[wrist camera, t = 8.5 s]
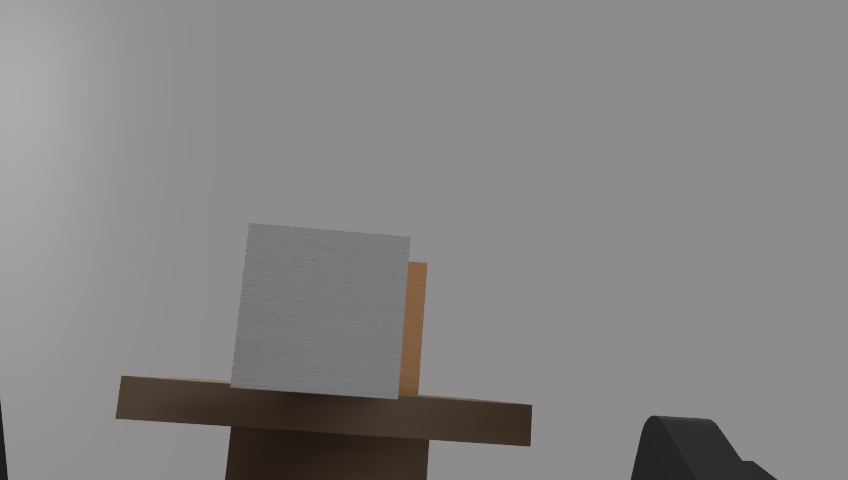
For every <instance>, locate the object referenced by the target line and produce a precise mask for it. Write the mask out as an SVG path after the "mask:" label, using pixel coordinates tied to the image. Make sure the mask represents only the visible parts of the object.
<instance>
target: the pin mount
mask: <svg viewBox="0 0 848 480" xmlns="http://www.w3.org/2000/svg"><path fill="white" fill-rule="evenodd" d="M230 386H231V382H230V381H216V380H198V379H177V378H176V379H175V378H156V377H135V376H122V377H121V384H120V391H119V398H118V405H117V412H116V419H130V420H145V421H159V422H174V423H189V424H204V425H219V426H231V433H230V442H229V451H228V460H227V468H226V477H225V480H427V465H428V449H429V440H443V441H458V442H472V443H487V444H503V445H517V446H530V441H531V419H532V405H526V404H516V403H506V402H497V401H486V400H477V399H467V398H454V397H440V396H439V397H438V396H426V395H418V396H410V395H398V399H386V398H372V397H358V396H344V395H330V394H316V393H301V392H287V391H273V390H259V389H245V388H231V387H230Z"/></svg>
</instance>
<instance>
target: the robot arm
mask: <svg viewBox="0 0 848 480" xmlns="http://www.w3.org/2000/svg"><path fill="white" fill-rule="evenodd" d="M0 480H8V476H7V465H6V454H5V444H4V434H3V424H2V413H1V403H0ZM631 480H777V479H775V478H774V477H773V476H772V475H770V474H769V473H768V472H766V471H765V470H764V469H762V468H761V467H760V466H758V465H757V464H756V463H755V462H753V461H742V460H741V458H740V457H739V456H738V454H737V453H736V451H735V450H734V448H733V447H732V446H731V444H730V443H729V441H728V440H727V439H726V437H725V436H724V434H723V433H722V431H721V430H720V429H719V427H718V426H717V425H716V423H715V422H713V421H712V420H710V419H700V418H684V417H668V416H651V417H650V418H648V420H647V421H646V423H645V424H644V427H643V430H642V433H641V438H640V442H639V446H638V451H637V455H636V459H635V463H634V468H633V472H632V477H631Z"/></svg>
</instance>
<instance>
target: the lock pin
mask: <svg viewBox="0 0 848 480" xmlns="http://www.w3.org/2000/svg"><path fill="white" fill-rule="evenodd" d="M409 247H410V237H402V236H390V235H379V234H367V233H355V232H344V231H332V230H321V229H310V228H298V227H287V226H275V225H264V224H252V223H249V231H248V239H247V247H246V256H245V265H244V273H243V282H242V291H241V299H240V308H239V317H238V326H237V334H236V343H235V352H234V360H233V368H232V377H231V386H230V387H231V388H245V389H259V390H273V391H287V392H301V393H316V394H330V395H344V396H358V397H372V398H386V399H398V395H410V396H418V386H419V372H420V358H421V344H422V330H423V316H424V301H425V286H426V273H427V263H419V262H408V259H409Z"/></svg>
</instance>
